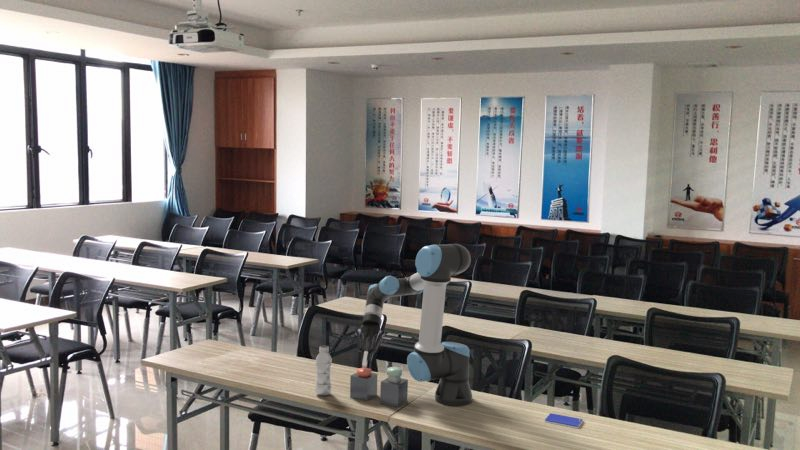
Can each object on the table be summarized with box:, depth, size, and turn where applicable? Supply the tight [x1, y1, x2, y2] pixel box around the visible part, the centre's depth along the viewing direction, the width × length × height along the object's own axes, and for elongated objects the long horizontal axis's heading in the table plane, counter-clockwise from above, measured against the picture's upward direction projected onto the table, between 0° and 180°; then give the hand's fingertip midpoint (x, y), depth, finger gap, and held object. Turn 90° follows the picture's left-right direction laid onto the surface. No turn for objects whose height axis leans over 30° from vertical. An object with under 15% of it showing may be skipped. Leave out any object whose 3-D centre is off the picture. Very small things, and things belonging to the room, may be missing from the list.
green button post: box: [379, 377, 409, 408], centre depth 274 cm, size 8×8×9 cm
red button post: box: [349, 372, 378, 402], centre depth 280 cm, size 8×8×9 cm
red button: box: [356, 367, 373, 377], centre depth 280 cm, size 6×6×10 cm
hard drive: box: [544, 412, 584, 429], centre depth 259 cm, size 2×8×12 cm
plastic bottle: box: [315, 345, 333, 396], centre depth 280 cm, size 6×7×20 cm
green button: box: [386, 366, 403, 383], centre depth 273 cm, size 6×6×10 cm
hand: (364, 366), depth 280 cm, fingers closed
